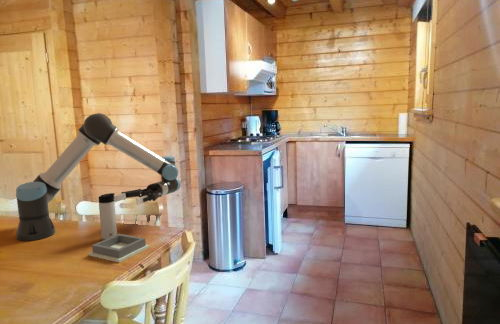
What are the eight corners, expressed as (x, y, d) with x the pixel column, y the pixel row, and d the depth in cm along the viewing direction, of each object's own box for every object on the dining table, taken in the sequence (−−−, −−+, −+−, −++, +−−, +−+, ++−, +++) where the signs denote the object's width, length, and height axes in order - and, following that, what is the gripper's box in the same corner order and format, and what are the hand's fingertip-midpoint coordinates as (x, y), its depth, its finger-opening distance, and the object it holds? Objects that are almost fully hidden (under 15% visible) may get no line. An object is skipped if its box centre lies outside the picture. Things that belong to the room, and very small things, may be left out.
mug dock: (88, 255, 143) (88, 245, 143) (120, 241, 157) (119, 232, 157) (119, 262, 136) (118, 252, 135) (149, 247, 150) (148, 237, 150)
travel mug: (114, 241, 158) (111, 195, 155) (99, 241, 158) (95, 195, 155) (120, 236, 164) (116, 191, 161) (105, 236, 164) (101, 192, 161)
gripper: (177, 199, 182) (147, 211, 163) (138, 195, 193) (106, 205, 174) (176, 184, 181) (146, 194, 162) (137, 181, 192) (105, 190, 173)
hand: (125, 200), depth 168 cm, fingers open, 13 cm apart
